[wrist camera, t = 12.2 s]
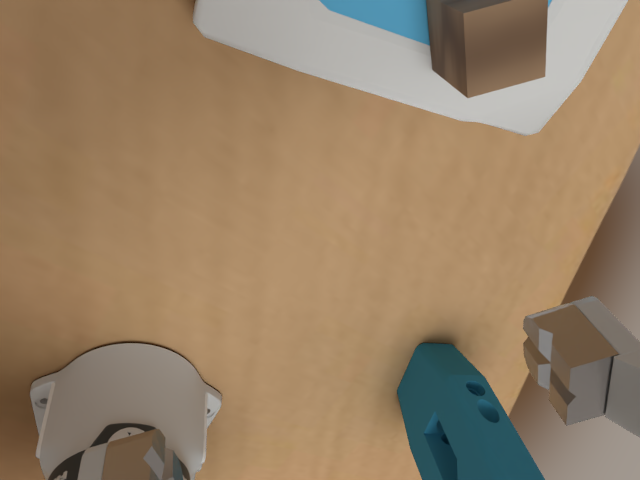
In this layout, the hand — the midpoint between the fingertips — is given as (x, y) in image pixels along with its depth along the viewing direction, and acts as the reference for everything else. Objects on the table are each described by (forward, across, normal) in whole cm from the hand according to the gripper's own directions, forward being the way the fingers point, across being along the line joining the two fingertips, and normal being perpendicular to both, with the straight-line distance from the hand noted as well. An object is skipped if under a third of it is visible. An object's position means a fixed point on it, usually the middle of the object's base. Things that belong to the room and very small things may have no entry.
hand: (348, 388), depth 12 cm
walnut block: (+28, -15, +2) cm, 32 cm away
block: (+34, -10, +42) cm, 55 cm away
